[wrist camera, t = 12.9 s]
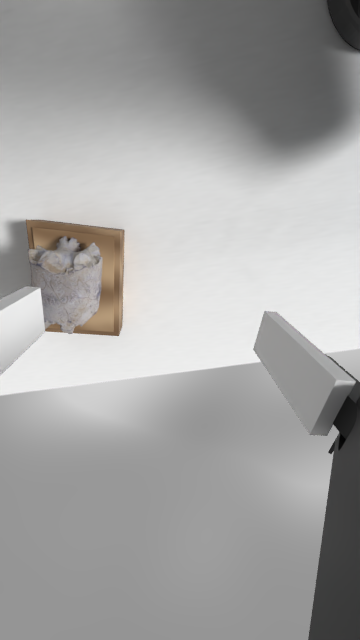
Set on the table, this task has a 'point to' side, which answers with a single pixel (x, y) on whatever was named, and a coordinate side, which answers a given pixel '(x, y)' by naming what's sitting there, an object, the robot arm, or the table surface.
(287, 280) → the table surface
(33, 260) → the stone
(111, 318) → the walnut slab
